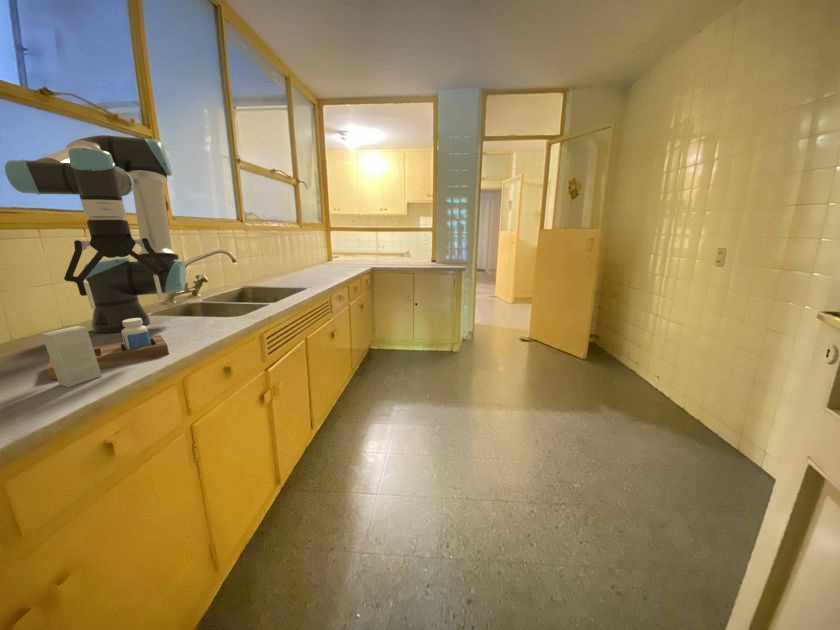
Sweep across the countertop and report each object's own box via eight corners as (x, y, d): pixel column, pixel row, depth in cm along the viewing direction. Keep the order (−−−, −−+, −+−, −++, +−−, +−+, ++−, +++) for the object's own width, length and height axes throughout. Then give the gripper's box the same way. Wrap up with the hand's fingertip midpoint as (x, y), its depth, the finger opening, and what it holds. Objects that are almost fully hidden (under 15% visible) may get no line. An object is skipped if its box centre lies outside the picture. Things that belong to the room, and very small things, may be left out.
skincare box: (92, 373, 79) (77, 325, 76) (102, 376, 77) (88, 327, 74) (57, 384, 73) (40, 333, 70) (67, 388, 72) (50, 335, 69)
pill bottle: (158, 351, 93) (150, 317, 90) (140, 358, 87) (132, 323, 85) (140, 350, 93) (132, 316, 91) (121, 357, 88) (112, 322, 85)
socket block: (54, 366, 83) (50, 355, 82) (162, 344, 98) (160, 335, 97) (50, 380, 75) (47, 368, 75) (169, 353, 90) (166, 344, 90)
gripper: (28, 219, 70) (59, 315, 76) (172, 218, 87) (188, 297, 93) (32, 219, 75) (61, 309, 81) (167, 218, 92) (182, 293, 98)
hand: (128, 303), depth 87 cm, fingers open, 13 cm apart
